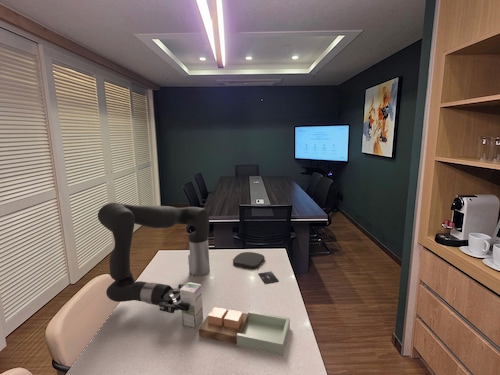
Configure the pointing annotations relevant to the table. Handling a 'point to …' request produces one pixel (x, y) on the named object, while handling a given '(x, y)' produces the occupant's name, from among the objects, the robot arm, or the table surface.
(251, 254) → the media streaming box
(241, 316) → the tile
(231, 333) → the board
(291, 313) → the table surface
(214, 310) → the tile
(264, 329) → the tray
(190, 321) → the syrup box
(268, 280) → the solid state drive
